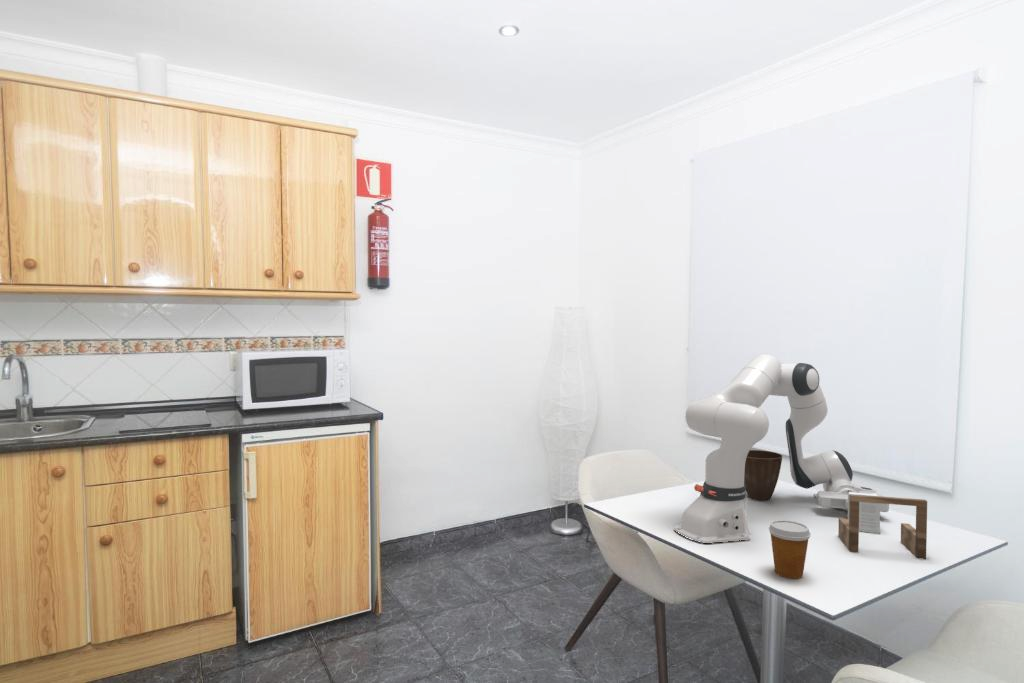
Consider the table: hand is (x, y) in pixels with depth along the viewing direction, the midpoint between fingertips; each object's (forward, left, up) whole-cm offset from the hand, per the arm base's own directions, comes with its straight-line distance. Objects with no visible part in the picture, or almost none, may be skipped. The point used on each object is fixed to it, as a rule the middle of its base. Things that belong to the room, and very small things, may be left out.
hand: (858, 508), depth 180 cm
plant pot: (-7, +33, -5) cm, 34 cm away
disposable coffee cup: (-51, -17, -5) cm, 54 cm away
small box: (-3, -4, -5) cm, 7 cm away
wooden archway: (-13, -15, -5) cm, 20 cm away
